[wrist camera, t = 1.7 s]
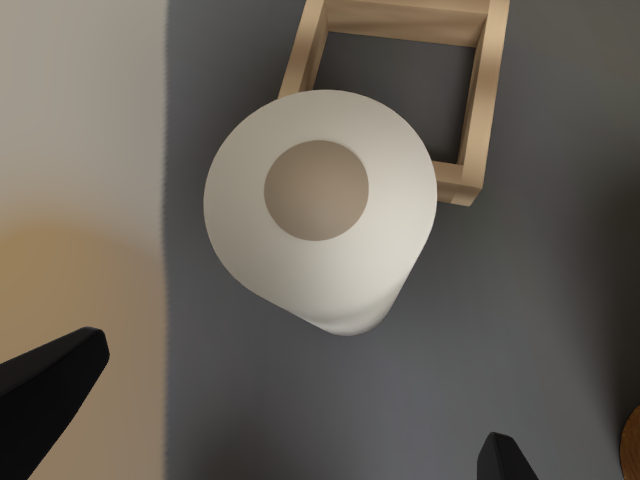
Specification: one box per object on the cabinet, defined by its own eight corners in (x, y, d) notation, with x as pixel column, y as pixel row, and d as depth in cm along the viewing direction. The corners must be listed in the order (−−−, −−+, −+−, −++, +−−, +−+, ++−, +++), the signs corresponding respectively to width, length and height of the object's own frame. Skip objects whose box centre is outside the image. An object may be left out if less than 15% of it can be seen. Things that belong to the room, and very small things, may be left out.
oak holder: (469, 206, 21) (482, 188, 19) (272, 172, 23) (262, 151, 21) (495, 35, 24) (509, 0, 22) (316, 16, 26) (311, -18, 24)
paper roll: (314, 348, 20) (228, 341, 8) (288, 256, 22) (179, 124, 9) (409, 318, 20) (478, 262, 8) (376, 228, 22) (389, 55, 9)
